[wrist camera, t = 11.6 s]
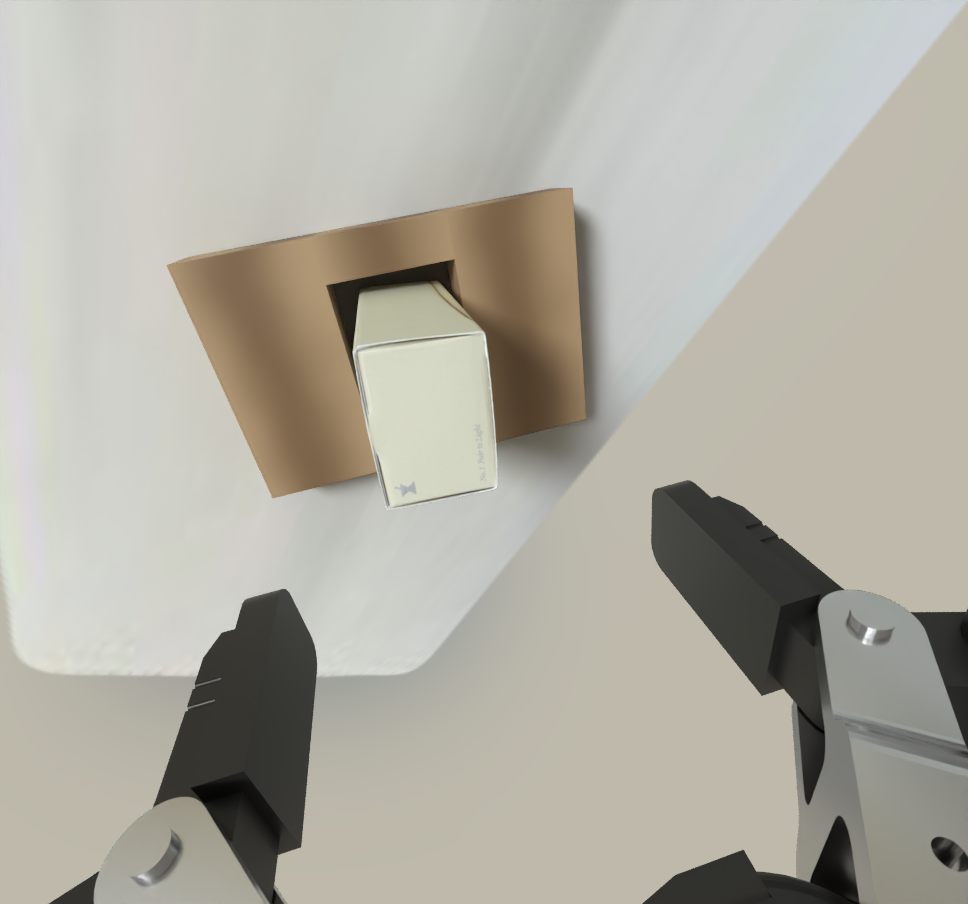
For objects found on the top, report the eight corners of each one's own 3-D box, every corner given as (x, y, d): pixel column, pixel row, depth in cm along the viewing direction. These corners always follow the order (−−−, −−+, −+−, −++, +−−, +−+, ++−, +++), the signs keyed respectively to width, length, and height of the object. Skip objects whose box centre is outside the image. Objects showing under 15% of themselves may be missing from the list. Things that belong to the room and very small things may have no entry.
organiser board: (550, 188, 25) (572, 188, 23) (567, 400, 31) (586, 419, 28) (188, 257, 23) (166, 265, 20) (280, 470, 29) (272, 498, 26)
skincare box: (450, 385, 29) (503, 495, 18) (374, 397, 28) (385, 518, 18) (438, 274, 26) (493, 328, 15) (352, 283, 25) (349, 348, 15)
